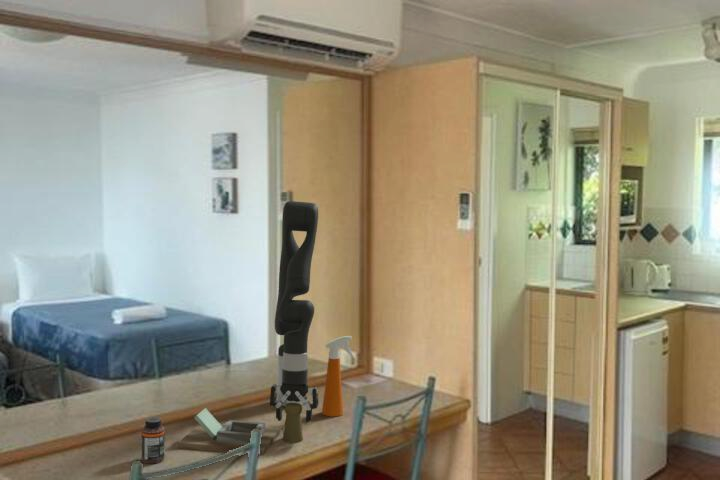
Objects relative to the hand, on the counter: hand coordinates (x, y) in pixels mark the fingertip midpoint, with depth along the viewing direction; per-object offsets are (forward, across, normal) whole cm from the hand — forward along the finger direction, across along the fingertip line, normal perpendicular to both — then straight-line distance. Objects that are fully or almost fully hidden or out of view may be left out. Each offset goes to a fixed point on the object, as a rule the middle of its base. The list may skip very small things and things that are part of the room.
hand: (293, 420), depth 210 cm
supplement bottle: (+6, +33, +24) cm, 41 cm away
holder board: (+6, +18, +5) cm, 19 cm away
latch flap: (+1, +24, +6) cm, 25 cm away
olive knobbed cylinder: (+6, 0, 0) cm, 6 cm away
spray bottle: (+6, -9, -27) cm, 29 cm away
